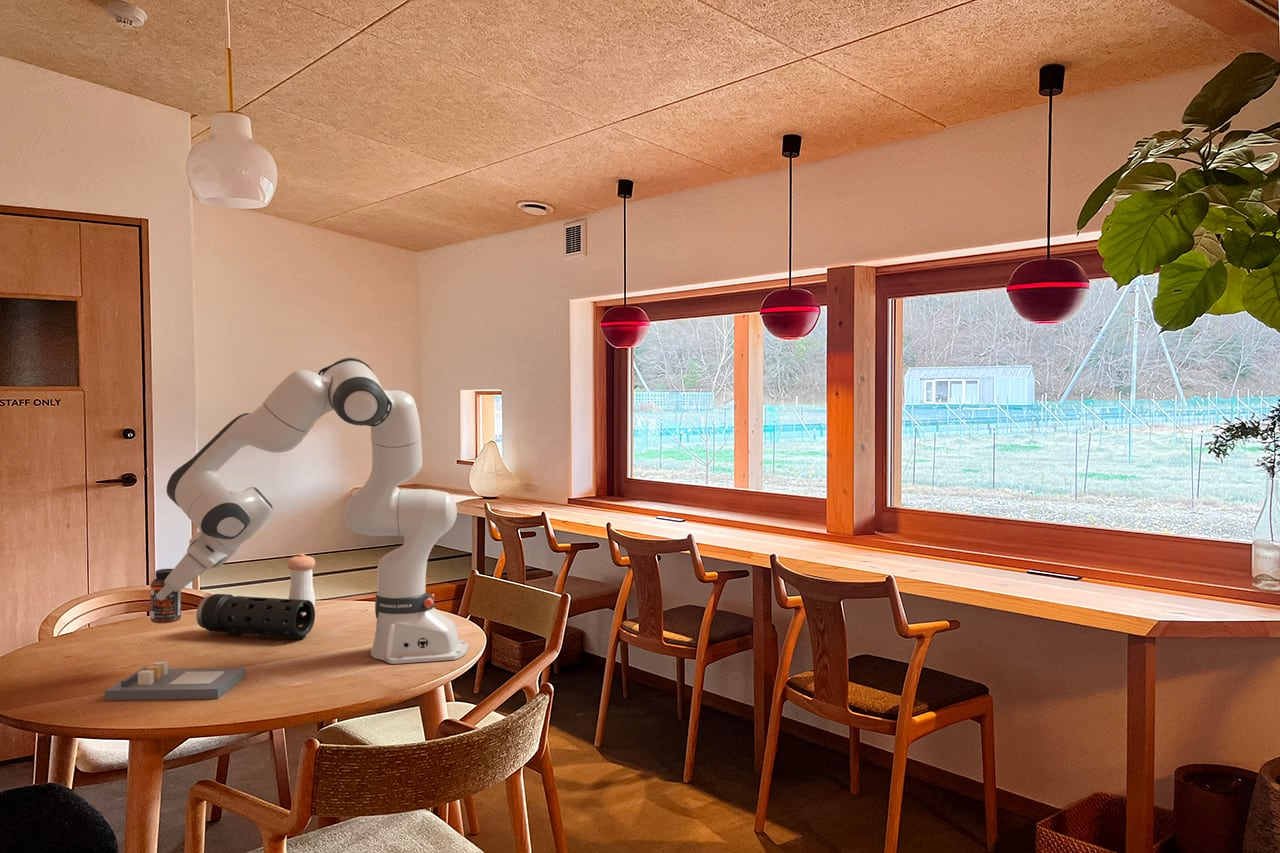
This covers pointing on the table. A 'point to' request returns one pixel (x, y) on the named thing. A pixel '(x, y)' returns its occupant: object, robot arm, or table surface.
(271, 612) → the muzzle brake
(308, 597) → the pepper shaker
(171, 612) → the supplement bottle
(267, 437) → the robot arm
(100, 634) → the table surface
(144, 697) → the breaker board
